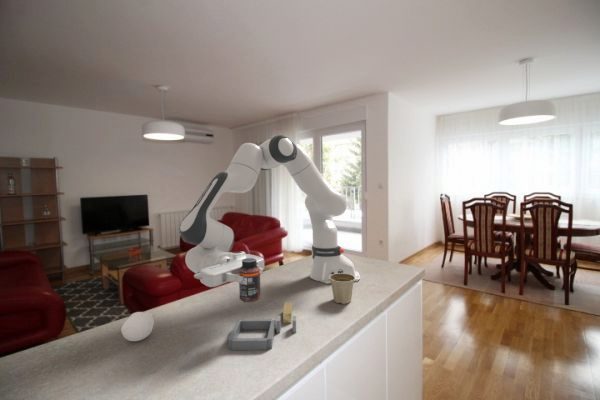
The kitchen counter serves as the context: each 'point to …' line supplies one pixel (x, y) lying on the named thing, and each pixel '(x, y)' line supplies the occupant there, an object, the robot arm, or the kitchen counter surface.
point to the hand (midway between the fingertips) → (252, 275)
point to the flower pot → (342, 287)
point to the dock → (256, 343)
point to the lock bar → (287, 312)
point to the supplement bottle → (249, 281)
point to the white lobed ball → (138, 326)
